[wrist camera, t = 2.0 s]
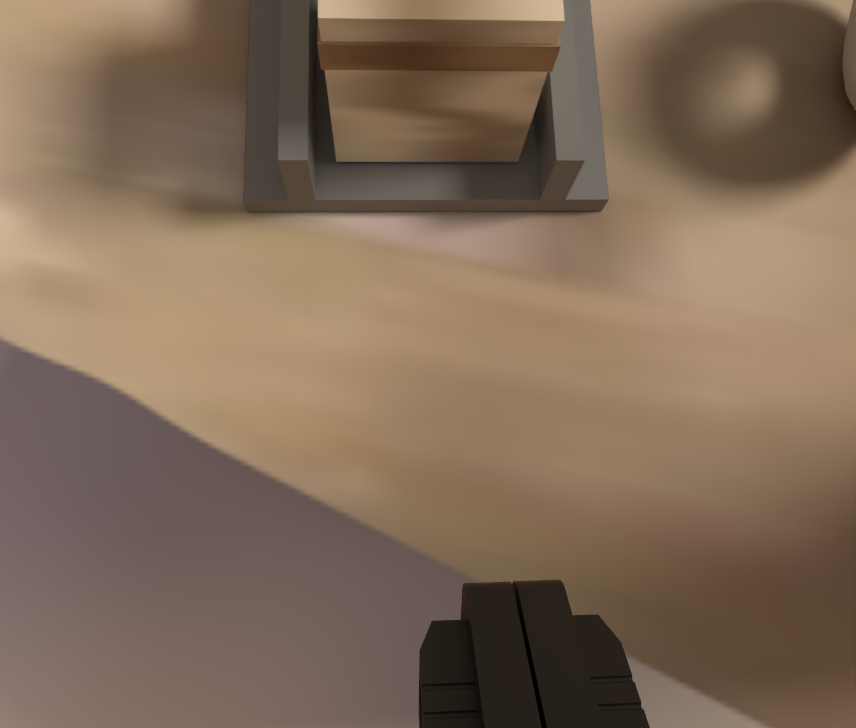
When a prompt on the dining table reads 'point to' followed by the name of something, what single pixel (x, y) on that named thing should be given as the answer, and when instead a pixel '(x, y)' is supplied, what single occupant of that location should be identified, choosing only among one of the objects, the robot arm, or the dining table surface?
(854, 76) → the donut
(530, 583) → the robot arm
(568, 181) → the bay
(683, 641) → the dining table surface
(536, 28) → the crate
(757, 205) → the dining table surface
